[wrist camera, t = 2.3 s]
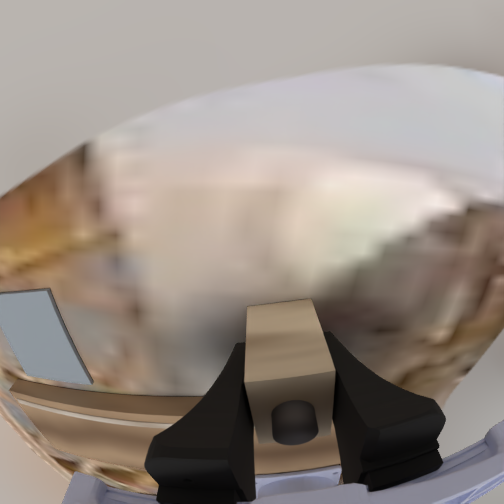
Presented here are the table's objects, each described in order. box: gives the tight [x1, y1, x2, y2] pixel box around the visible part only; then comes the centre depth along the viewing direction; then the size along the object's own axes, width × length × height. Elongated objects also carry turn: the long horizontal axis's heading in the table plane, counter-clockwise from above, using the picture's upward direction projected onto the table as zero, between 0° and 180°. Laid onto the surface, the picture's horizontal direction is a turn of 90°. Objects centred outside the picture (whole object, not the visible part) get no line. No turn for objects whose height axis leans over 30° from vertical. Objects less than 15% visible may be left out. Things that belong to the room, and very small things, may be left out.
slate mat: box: [0, 288, 93, 385], centre depth 15 cm, size 7×7×1 cm
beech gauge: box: [244, 298, 336, 445], centre depth 11 cm, size 4×3×6 cm
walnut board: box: [9, 379, 341, 474], centre depth 17 cm, size 8×26×2 cm, turn 98°
